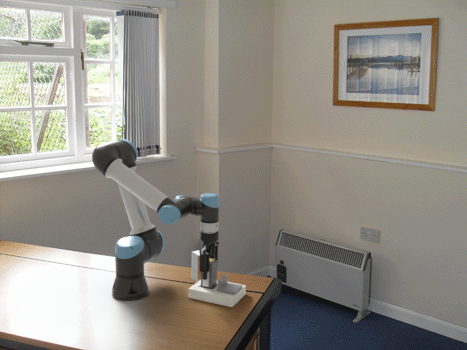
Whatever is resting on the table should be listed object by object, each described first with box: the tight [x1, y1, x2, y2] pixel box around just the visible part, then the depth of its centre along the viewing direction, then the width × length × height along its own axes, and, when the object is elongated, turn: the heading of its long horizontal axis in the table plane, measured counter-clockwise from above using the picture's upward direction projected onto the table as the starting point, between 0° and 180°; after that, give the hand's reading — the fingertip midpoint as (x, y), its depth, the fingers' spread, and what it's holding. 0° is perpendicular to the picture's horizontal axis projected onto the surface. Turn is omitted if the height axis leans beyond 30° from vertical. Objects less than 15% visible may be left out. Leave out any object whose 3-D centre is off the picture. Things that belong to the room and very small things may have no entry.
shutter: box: [217, 274, 244, 294], centre depth 220 cm, size 8×8×4 cm
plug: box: [201, 258, 218, 289], centre depth 223 cm, size 5×5×13 cm
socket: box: [187, 279, 247, 308], centre depth 223 cm, size 20×14×4 cm
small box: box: [190, 249, 208, 283], centre depth 239 cm, size 8×6×13 cm
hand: (208, 283), depth 224 cm, fingers closed on plug, 5 cm apart
